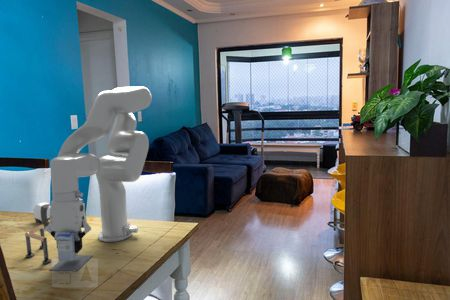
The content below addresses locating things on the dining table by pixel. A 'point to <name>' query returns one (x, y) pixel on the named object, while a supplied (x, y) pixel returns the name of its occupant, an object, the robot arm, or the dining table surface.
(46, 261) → the wooden l-shaped stand
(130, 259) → the dining table surface
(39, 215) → the giant panda
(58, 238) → the medicine box
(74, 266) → the mat
